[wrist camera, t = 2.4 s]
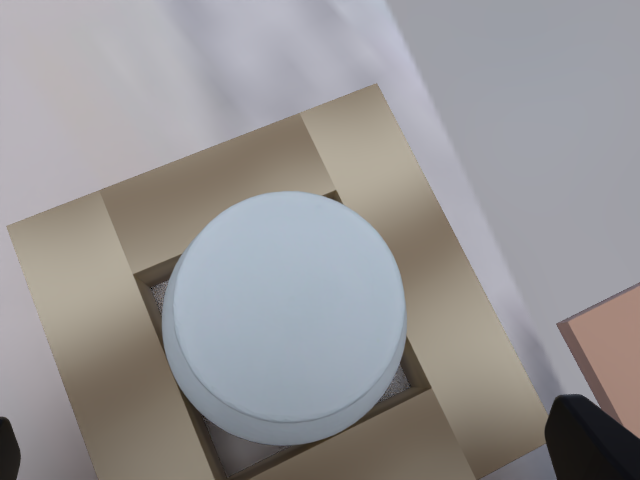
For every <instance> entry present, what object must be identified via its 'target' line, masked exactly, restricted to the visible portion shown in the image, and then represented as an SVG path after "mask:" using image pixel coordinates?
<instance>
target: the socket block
mask: <svg viewBox="0 0 640 480" xmlns="http://www.w3.org/2000/svg"><path fill="white" fill-rule="evenodd" d="M281 191H301V192H308V193H313V194H317V195H321V196H324V197H327V198H330V199H332V200H335V201H337V202H339V203H341V204H343V205H345V206H347V207H348V208H350V209H351V210H353V211H355V212H356V213H358V214H359V215H360V216H361V217H362V218H364V219H365V220H366V221H367V222H369V223H370V224H371V225H372V226H373V228H374V229H375V230H376V231H377V232H378V233H379V234H380V236H381V237H382V238H383V240H384V241H385V242H386V244H387V246H388V247H389V249H390V251H391V252H392V254H393V256H394V259H395V261H396V263H397V266H398V269H399V271H400V274H401V278H402V283H403V288H404V296H405V302H406V311H407V333H406V341H405V347H404V351H403V355H402V358H401V361H400V364H401V366H402V368H403V371H404V373H405V375H406V377H407V379H408V381H409V383H410V385H411V387H410V388H408V389H406V390H404V391H402V392H400V393H398V394H396V395H394V396H392V397H390V398H388V399H386V400H384V401H382V402H380V403H378V404H376V405H374V407H373V408H372V409H371V410H370V411H369V412H367V413H366V414H365V415H364V416H363V417H362V418H360V419H359V420H358V421H357V422H355V423H354V424H353V425H351V426H349V427H348V428H346V429H344V430H343V431H341V432H339V433H337V434H335V435H333V436H330V437H328V438H325V439H321V440H318V441H315V442H311V443H306V444H300V445H293V446H291V447H289V448H287V449H285V450H283V451H281V452H279V453H277V454H274V455H272V456H270V457H268V458H266V459H264V460H262V461H260V462H258V463H256V464H254V465H252V466H250V467H248V468H246V469H244V470H242V471H240V472H238V473H236V474H234V475H232V476H230V477H228V478H227V477H226V475H225V472H224V470H223V467H222V465H221V462H220V460H219V458H218V455H217V453H216V450H215V448H214V445H213V443H212V440H211V438H210V435H209V433H208V430H207V428H206V425H205V423H204V420H203V418H202V415H201V413H200V412H199V411H198V410H197V409H196V408H195V406H194V405H193V404H192V403H191V402H190V401H189V400H188V398H187V397H186V396H185V394H184V393H183V391H182V390H181V388H180V387H179V385H178V383H177V381H176V380H175V378H174V375H173V373H172V371H171V368H170V366H169V363H168V360H167V357H166V353H165V349H164V343H163V336H162V316H161V314H160V311H159V309H158V306H157V304H156V301H155V299H154V296H153V294H152V291H151V289H150V287H152V286H155V285H157V284H160V283H162V282H164V281H167V280H169V279H170V277H171V274H172V272H173V270H174V267H175V265H176V263H177V262H178V260H179V258H180V257H181V255H182V253H183V252H184V250H185V249H186V248H187V247H188V245H189V244H190V243H191V241H192V240H193V239H194V238H195V237H196V236H197V235H198V234H199V233H200V232H201V231H202V229H203V228H204V227H205V226H206V225H207V224H208V223H209V222H210V221H212V220H213V219H214V218H215V217H216V216H218V215H219V214H220V213H221V212H223V211H225V210H226V209H228V208H229V207H231V206H233V205H235V204H237V203H239V202H241V201H243V200H245V199H248V198H250V197H254V196H257V195H260V194H265V193H271V192H281ZM6 227H7V230H8V232H9V235H10V238H11V241H12V243H13V246H14V249H15V252H16V254H17V257H18V260H19V263H20V265H21V268H22V271H23V274H24V276H25V279H26V282H27V285H28V287H29V290H30V293H31V296H32V299H33V301H34V304H35V307H36V310H37V312H38V315H39V318H40V321H41V323H42V326H43V329H44V332H45V334H46V337H47V340H48V343H49V345H50V348H51V351H52V354H53V356H54V359H55V362H56V365H57V367H58V370H59V373H60V376H61V379H62V381H63V384H64V387H65V390H66V392H67V395H68V398H69V401H70V403H71V406H72V409H73V412H74V414H75V417H76V420H77V423H78V425H79V428H80V431H81V434H82V436H83V439H84V442H85V445H86V447H87V450H88V453H89V456H90V459H91V461H92V464H93V467H94V470H95V472H96V475H97V478H98V480H479V479H481V478H482V477H484V476H486V475H488V474H490V473H492V472H494V471H496V470H497V469H499V468H501V467H503V466H505V465H507V464H509V463H510V462H512V461H514V460H516V459H518V458H520V457H522V456H523V455H525V454H527V453H529V452H531V451H533V450H535V449H536V448H538V447H540V446H542V445H544V444H546V441H545V435H544V430H545V425H546V422H547V419H548V414H547V412H546V410H545V408H544V406H543V404H542V402H541V401H540V399H539V397H538V395H537V393H536V391H535V389H534V387H533V385H532V383H531V381H530V379H529V377H528V375H527V373H526V371H525V369H524V368H523V366H522V364H521V362H520V360H519V358H518V356H517V354H516V352H515V350H514V348H513V346H512V344H511V342H510V340H509V338H508V336H507V335H506V333H505V331H504V329H503V327H502V325H501V323H500V321H499V319H498V317H497V315H496V313H495V311H494V309H493V307H492V305H491V303H490V302H489V300H488V298H487V296H486V294H485V292H484V290H483V288H482V286H481V284H480V282H479V280H478V278H477V276H476V274H475V272H474V271H473V269H472V267H471V265H470V263H469V261H468V259H467V257H466V255H465V253H464V251H463V249H462V247H461V245H460V243H459V241H458V239H457V238H456V236H455V234H454V232H453V230H452V228H451V226H450V224H449V222H448V220H447V218H446V216H445V214H444V212H443V210H442V208H441V206H440V205H439V203H438V201H437V199H436V197H435V195H434V193H433V191H432V189H431V187H430V185H429V183H428V181H427V179H426V177H425V175H424V173H423V172H422V170H421V168H420V166H419V164H418V162H417V160H416V158H415V156H414V154H413V152H412V150H411V148H410V146H409V144H408V142H407V141H406V139H405V137H404V135H403V133H402V131H401V129H400V127H399V125H398V123H397V121H396V119H395V117H394V115H393V113H392V111H391V109H390V108H389V106H388V104H387V102H386V100H385V98H384V96H383V94H382V92H381V90H380V88H379V86H378V84H377V83H376V84H373V85H371V86H368V87H366V88H363V89H360V90H358V91H355V92H353V93H350V94H348V95H345V96H342V97H340V98H337V99H335V100H332V101H329V102H327V103H324V104H322V105H319V106H316V107H314V108H311V109H309V110H306V111H303V112H301V113H298V114H296V115H293V116H291V117H288V118H285V119H283V120H280V121H278V122H275V123H272V124H270V125H267V126H265V127H262V128H259V129H257V130H254V131H252V132H249V133H246V134H244V135H241V136H239V137H236V138H234V139H231V140H228V141H226V142H223V143H221V144H218V145H215V146H213V147H210V148H208V149H205V150H202V151H200V152H197V153H195V154H192V155H189V156H187V157H184V158H182V159H179V160H177V161H174V162H171V163H169V164H166V165H164V166H161V167H158V168H156V169H153V170H151V171H148V172H145V173H143V174H140V175H138V176H135V177H132V178H130V179H127V180H125V181H122V182H119V183H117V184H114V185H112V186H109V187H107V188H104V189H101V190H99V191H96V192H94V193H91V194H88V195H86V196H83V197H81V198H78V199H75V200H73V201H70V202H68V203H65V204H62V205H60V206H57V207H55V208H52V209H50V210H47V211H44V212H42V213H39V214H37V215H34V216H31V217H29V218H26V219H24V220H21V221H18V222H16V223H13V224H11V225H8V226H6Z"/></svg>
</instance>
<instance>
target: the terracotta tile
mask: <svg viewBox="0 0 640 480" xmlns="http://www.w3.org/2000/svg"><path fill="white" fill-rule="evenodd" d="M557 327H558V329H559V330H560V332H561V334H562V336H563V338H564V340H565V342H566V343H567V345H568V347H569V349H570V351H571V353H572V355H573V356H574V358H575V360H576V362H577V364H578V366H579V368H580V370H581V372H582V373H583V375H584V377H585V379H586V381H587V382H588V385H589V387H590V388H591V390H592V392H593V394H594V396H595V398H596V400H597V401H598V403H599V405H600V407H601V409H602V410H603V411H604V412H606V413H607V414H608V415H610V416H611V417H612V418H614V419H615V420H616V421H617V422H619V423H620V424H621V425H623V426H624V427H625V428H627V429H628V430H629V431H630V432H632V433H633V434H634V435H636V436H637V437H638V438H640V283H638V284H636V285H634V286H632V287H630V288H628V289H626V290H623V291H621V292H619V293H617V294H616V295H614V296H611V297H610V298H607V299H605V300H603V301H601V302H599V303H597V304H595V305H593V306H591V307H589V308H587V309H585V310H583V311H581V312H579V313H577V314H575V315H573V316H571V317H570V318H567V319H565V320H563V321H561V322H559V323H557Z"/></svg>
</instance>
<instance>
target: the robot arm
mask: <svg viewBox="0 0 640 480" xmlns="http://www.w3.org/2000/svg"><path fill="white" fill-rule="evenodd" d="M544 435H545V441H546V444H547V448H548V451H549V454H550V457H551V461H552V464H553V467H554V471H555V474H556V477H557V480H640V438H638V437H637V436H636V435H634V434H633V433H632V432H630V431H629V430H628V429H627V428H625V427H624V426H623V425H621V424H620V423H619V422H617V421H616V420H615V419H614V418H612V417H611V416H610V415H608V414H607V413H606V412H604V411H603V410H602V409H600V408H599V407H598V406H597V405H595V404H594V403H593V402H591V401H590V400H589V399H587V398H586V397H584V396H583V395H579V394H571V395H570V394H568V395H558V396H557V397H556V398H555V400H554V402H553V405H552V408H551V411H550V413H549V416H548V419H547V422H546V425H545V430H544ZM20 460H21V454H20V448H19V445H18V443H17V440H16V437H15V434H14V432H13V429H12V426H11V423H10V421H9V420H8V419H7V418H6V417H0V480H16V479H17V475H18V471H19V467H20Z"/></svg>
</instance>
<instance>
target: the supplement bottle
mask: <svg viewBox="0 0 640 480" xmlns="http://www.w3.org/2000/svg"><path fill="white" fill-rule="evenodd" d="M406 333H407V311H406V302H405V296H404V288H403V283H402V278H401V274H400V271H399V269H398V266H397V263H396V261H395V259H394V256H393V254H392V252H391V251H390V249H389V247H388V246H387V244H386V242H385V241H384V240H383V238H382V237H381V236H380V234H379V233H378V232H377V231H376V230H375V229H374V228H373V226H372V225H371V224H370V223H369V222H367V221H366V220H365V219H364V218H362V217H361V216H360V215H359V214H358V213H356V212H355V211H353V210H351V209H350V208H348V207H347V206H345V205H343V204H341V203H339V202H337V201H335V200H332V199H330V198H327V197H324V196H321V195H317V194H313V193H308V192H301V191H281V192H271V193H265V194H260V195H257V196H254V197H250V198H248V199H245V200H243V201H241V202H239V203H237V204H235V205H233V206H231V207H229V208H228V209H226V210H225V211H223V212H221V213H220V214H219V215H218V216H216V217H215V218H214V219H213V220H212V221H210V222H209V223H208V224H207V225H206V226H205V227H204V228H203V229H202V231H201V232H200V233H199V234H198V235H197V236H196V237H195V238H194V239H193V240H192V241H191V243H190V244H189V245H188V247H187V248H186V249H185V250H184V252H183V253H182V255H181V257H180V258H179V260H178V262H177V263H176V265H175V267H174V270H173V272H172V274H171V277H170V279H169V282H168V286H167V289H166V292H165V296H164V302H163V309H162V336H163V343H164V349H165V353H166V357H167V360H168V363H169V366H170V368H171V371H172V373H173V375H174V378H175V380H176V381H177V383H178V385H179V387H180V388H181V390H182V391H183V393H184V394H185V396H186V397H187V398H188V400H189V401H190V402H191V403H192V404H193V405H194V406H195V408H196V409H197V410H198V411H199V412H200V413H201V414H203V415H204V416H205V417H206V418H207V419H208V420H210V421H211V422H212V423H214V424H215V425H217V426H218V427H220V428H221V429H223V430H225V431H226V432H228V433H230V434H232V435H235V436H237V437H240V438H243V439H245V440H248V441H252V442H256V443H260V444H267V445H278V446H289V445H300V444H306V443H311V442H315V441H318V440H321V439H325V438H328V437H330V436H333V435H335V434H337V433H339V432H341V431H343V430H344V429H346V428H348V427H349V426H351V425H353V424H354V423H355V422H357V421H358V420H359V419H360V418H362V417H363V416H364V415H365V414H366V413H367V412H369V411H370V410H371V409H372V408H373V407H374V405H375V404H376V403H377V402H378V401H379V400H380V398H381V397H382V396H383V394H384V393H385V391H386V390H387V388H388V387H389V385H390V383H391V382H392V380H393V378H394V376H395V374H396V372H397V369H398V367H399V364H400V361H401V358H402V355H403V351H404V347H405V341H406Z"/></svg>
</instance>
